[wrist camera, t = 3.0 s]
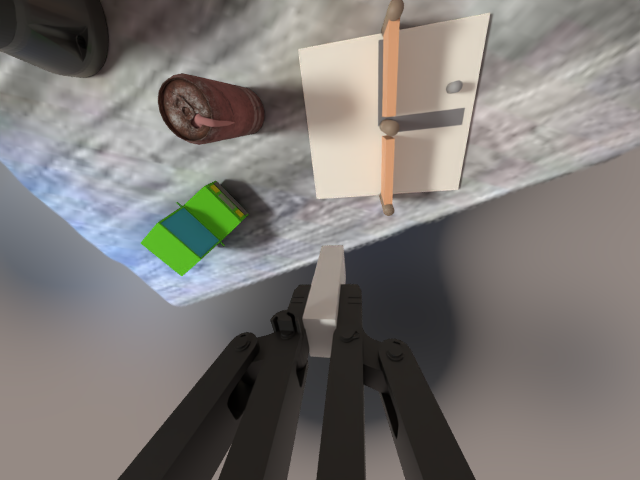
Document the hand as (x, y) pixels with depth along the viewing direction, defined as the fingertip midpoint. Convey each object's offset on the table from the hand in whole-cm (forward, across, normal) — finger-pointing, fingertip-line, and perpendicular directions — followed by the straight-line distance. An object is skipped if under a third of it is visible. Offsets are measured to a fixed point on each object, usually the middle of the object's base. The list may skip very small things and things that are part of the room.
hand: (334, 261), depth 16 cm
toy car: (+24, -25, -5) cm, 35 cm away
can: (+23, -14, +11) cm, 30 cm away
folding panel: (+23, +6, +1) cm, 24 cm away
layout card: (+23, +6, +7) cm, 25 cm away
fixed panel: (+23, +6, +12) cm, 27 cm away
